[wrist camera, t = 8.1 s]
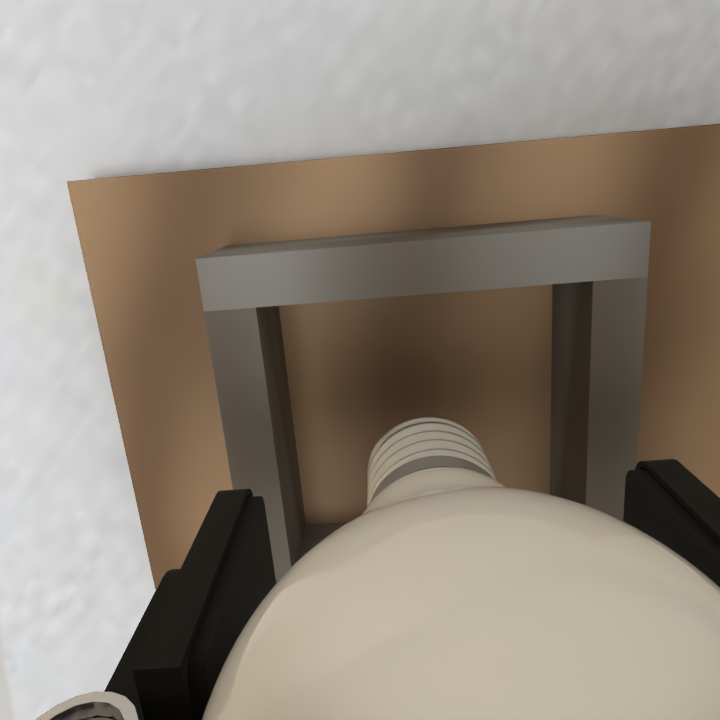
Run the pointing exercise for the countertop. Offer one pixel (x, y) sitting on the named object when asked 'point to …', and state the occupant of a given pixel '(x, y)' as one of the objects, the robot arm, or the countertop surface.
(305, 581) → the lightbulb
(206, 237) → the lamp socket
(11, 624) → the countertop surface
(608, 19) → the countertop surface
